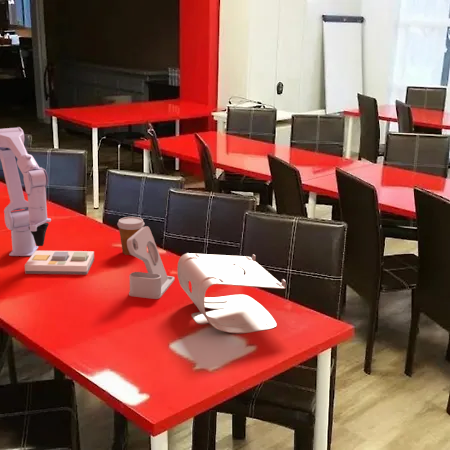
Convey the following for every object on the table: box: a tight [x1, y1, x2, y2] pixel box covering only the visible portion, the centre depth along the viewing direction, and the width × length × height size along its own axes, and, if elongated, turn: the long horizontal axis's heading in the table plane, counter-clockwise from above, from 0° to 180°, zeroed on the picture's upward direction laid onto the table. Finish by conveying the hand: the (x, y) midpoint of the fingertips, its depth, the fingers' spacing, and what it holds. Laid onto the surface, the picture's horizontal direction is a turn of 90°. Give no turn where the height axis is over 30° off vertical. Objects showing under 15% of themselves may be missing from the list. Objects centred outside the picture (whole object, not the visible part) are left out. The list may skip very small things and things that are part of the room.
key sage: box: [72, 252, 88, 261], centre depth 217 cm, size 4×4×2 cm
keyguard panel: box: [24, 250, 95, 275], centre depth 217 cm, size 14×20×3 cm
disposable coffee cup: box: [117, 216, 145, 256], centre depth 231 cm, size 10×10×12 cm
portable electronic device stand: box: [176, 252, 286, 334], centre depth 182 cm, size 26×24×16 cm
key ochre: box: [32, 255, 49, 261], centre depth 217 cm, size 4×4×2 cm
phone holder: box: [127, 225, 175, 300], centre depth 200 cm, size 17×10×18 cm, turn 167°
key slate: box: [52, 252, 68, 261], centre depth 216 cm, size 4×4×2 cm
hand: (39, 245), depth 215 cm, fingers closed
